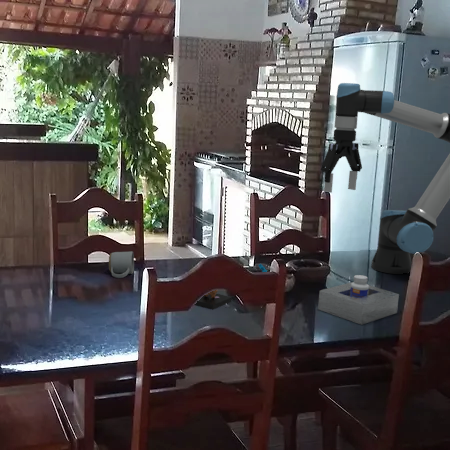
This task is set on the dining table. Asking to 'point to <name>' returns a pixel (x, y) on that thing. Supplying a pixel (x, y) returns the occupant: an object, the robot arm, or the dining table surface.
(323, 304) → the white flat square box
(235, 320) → the dining table surface
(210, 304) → the figurine
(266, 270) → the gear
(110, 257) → the ceramic mug
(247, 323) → the dining table surface
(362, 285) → the pill bottle
